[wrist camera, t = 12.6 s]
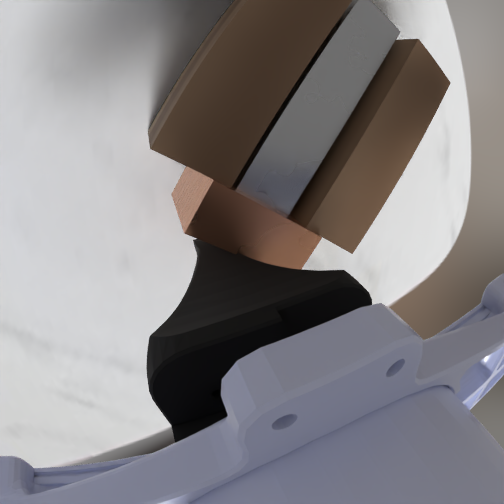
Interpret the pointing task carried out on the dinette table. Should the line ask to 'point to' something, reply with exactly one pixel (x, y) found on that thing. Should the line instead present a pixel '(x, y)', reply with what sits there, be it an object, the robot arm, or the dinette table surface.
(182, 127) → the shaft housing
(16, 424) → the dinette table surface
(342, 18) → the shaft
